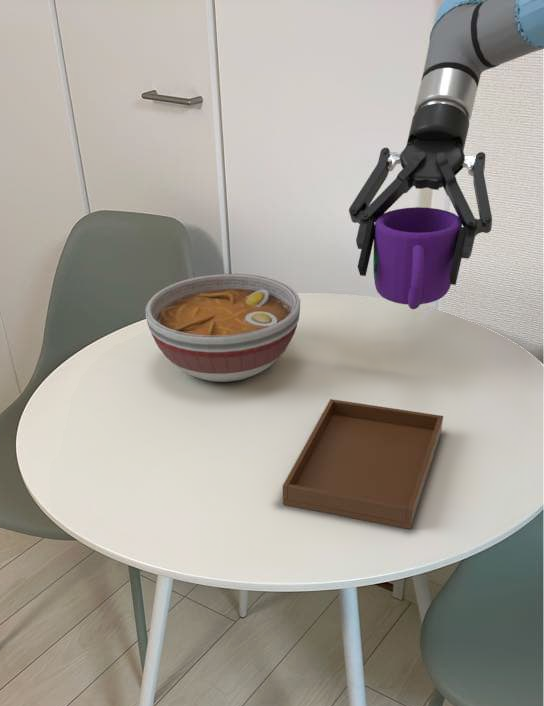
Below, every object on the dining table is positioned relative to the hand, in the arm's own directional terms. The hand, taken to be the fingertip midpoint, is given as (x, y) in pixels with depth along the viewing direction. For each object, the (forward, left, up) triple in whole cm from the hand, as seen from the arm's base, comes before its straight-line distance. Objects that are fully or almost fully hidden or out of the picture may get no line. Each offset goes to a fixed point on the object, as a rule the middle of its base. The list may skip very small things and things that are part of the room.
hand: (406, 275), depth 100 cm
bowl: (+26, +1, -16) cm, 31 cm away
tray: (-1, +22, -16) cm, 27 cm away
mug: (-1, -2, -5) cm, 5 cm away
